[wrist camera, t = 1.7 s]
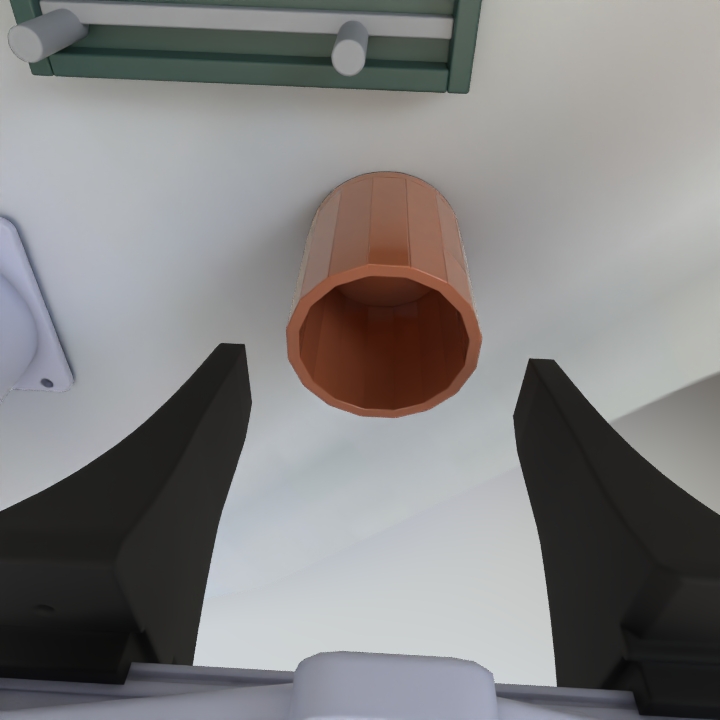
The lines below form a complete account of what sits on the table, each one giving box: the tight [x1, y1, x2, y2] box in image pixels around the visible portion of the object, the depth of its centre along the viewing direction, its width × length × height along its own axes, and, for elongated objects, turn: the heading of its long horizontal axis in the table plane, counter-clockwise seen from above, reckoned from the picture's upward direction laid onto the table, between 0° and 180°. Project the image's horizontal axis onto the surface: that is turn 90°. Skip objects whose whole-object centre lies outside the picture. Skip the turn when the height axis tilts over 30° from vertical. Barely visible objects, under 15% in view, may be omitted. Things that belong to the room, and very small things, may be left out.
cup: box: [286, 172, 482, 418], centre depth 18 cm, size 5×5×6 cm
